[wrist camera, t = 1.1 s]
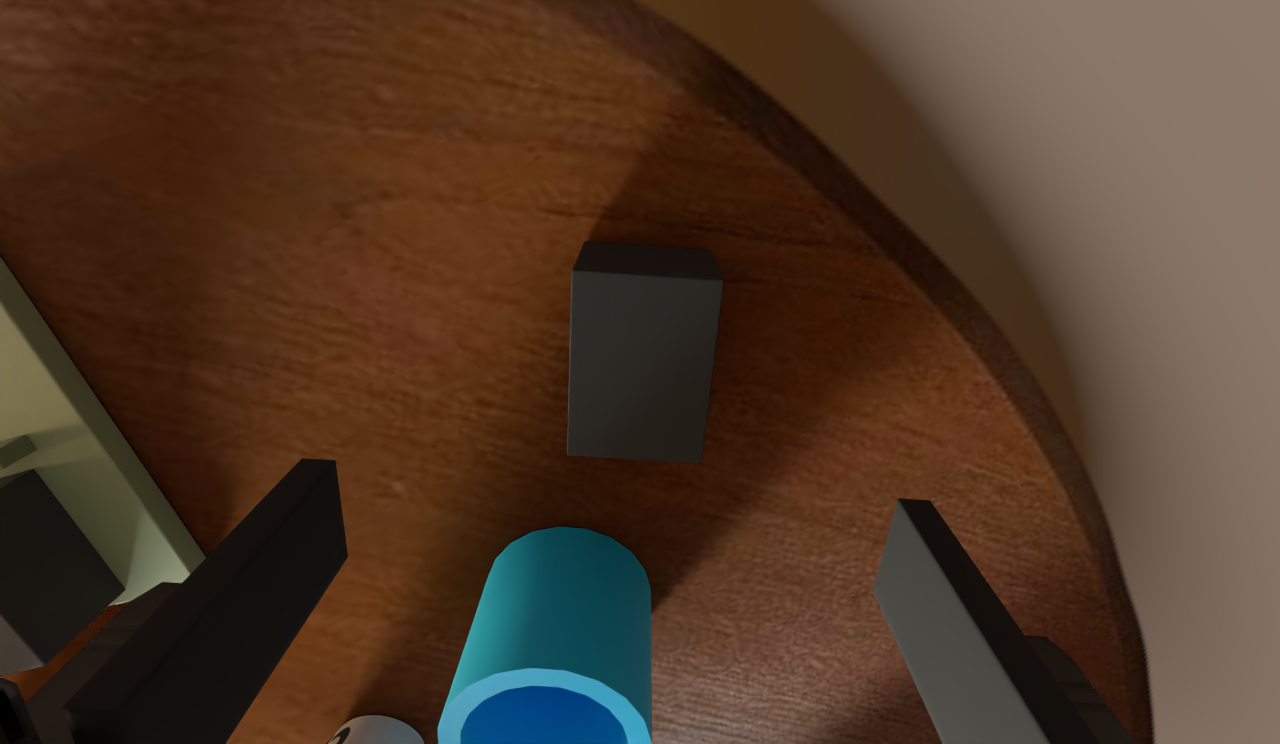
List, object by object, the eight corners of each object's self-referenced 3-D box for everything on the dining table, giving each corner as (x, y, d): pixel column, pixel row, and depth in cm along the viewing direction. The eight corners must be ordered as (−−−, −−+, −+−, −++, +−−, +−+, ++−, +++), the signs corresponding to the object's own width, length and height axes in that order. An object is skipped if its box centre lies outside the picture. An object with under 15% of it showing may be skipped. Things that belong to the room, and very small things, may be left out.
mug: (500, 510, 30) (450, 649, 23) (669, 545, 31) (676, 691, 23) (466, 690, 35) (415, 854, 27) (613, 717, 35) (604, 885, 28)
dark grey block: (584, 241, 25) (571, 269, 21) (712, 249, 25) (724, 280, 21) (578, 402, 28) (566, 455, 24) (694, 409, 28) (702, 464, 24)
